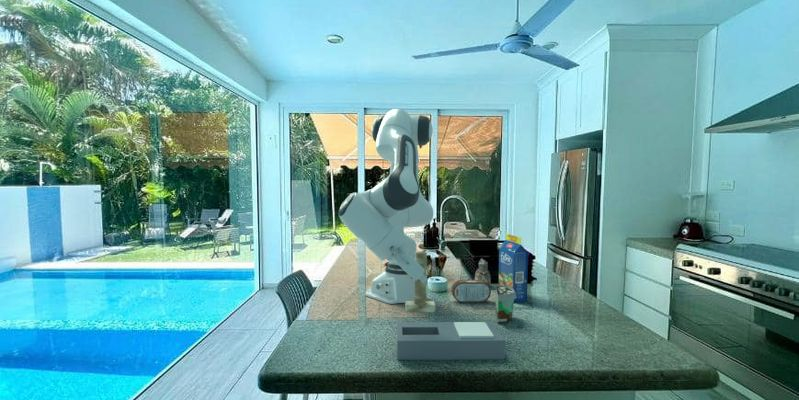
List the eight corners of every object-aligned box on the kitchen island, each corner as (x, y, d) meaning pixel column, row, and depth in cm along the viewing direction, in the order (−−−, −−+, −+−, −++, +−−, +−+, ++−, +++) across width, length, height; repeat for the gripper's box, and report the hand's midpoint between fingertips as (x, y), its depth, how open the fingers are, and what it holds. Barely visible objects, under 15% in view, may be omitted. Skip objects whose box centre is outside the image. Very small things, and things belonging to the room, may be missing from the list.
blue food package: (511, 292, 146) (513, 233, 145) (527, 301, 135) (528, 237, 133) (498, 292, 145) (499, 233, 144) (512, 302, 134) (513, 238, 132)
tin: (489, 300, 136) (489, 279, 136) (491, 303, 133) (492, 281, 133) (451, 300, 136) (451, 279, 135) (452, 303, 133) (452, 281, 132)
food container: (517, 327, 111) (518, 296, 110) (497, 325, 112) (498, 294, 112) (513, 313, 123) (513, 285, 122) (495, 311, 124) (495, 284, 124)
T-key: (405, 312, 94) (406, 253, 93) (405, 307, 97) (405, 251, 96) (435, 312, 94) (436, 254, 93) (433, 308, 98) (434, 251, 97)
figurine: (474, 288, 152) (474, 260, 151) (473, 283, 159) (474, 257, 158) (491, 289, 151) (491, 261, 150) (489, 284, 158) (490, 258, 157)
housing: (397, 359, 90) (397, 338, 90) (396, 339, 102) (396, 320, 102) (504, 359, 91) (505, 338, 90) (491, 338, 103) (491, 319, 102)
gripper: (405, 242, 83) (443, 280, 86) (388, 229, 103) (420, 261, 106) (386, 261, 82) (426, 299, 85) (373, 245, 102) (405, 276, 105)
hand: (422, 278), depth 95 cm, fingers closed on T-key, 3 cm apart
